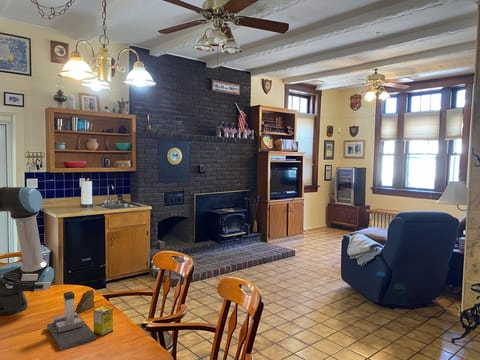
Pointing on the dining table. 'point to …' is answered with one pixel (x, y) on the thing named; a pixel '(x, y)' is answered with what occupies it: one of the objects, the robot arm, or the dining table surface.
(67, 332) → the base
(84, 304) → the rock
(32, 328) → the dining table surface
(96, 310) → the supplement box
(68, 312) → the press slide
